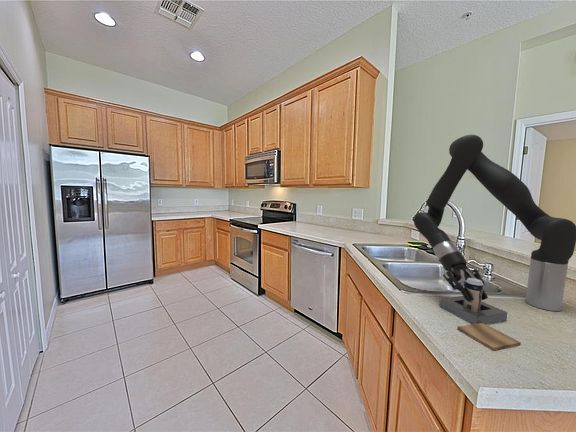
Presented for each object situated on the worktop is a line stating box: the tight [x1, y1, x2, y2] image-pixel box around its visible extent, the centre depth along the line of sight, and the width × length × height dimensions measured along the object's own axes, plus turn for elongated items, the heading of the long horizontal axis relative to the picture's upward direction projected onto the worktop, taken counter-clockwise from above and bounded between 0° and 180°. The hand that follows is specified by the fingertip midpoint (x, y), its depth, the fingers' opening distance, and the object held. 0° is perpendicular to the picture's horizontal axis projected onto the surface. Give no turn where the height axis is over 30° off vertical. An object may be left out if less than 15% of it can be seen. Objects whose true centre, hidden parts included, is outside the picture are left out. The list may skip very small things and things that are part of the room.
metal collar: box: [439, 295, 508, 325], centre depth 81 cm, size 13×13×3 cm
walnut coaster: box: [456, 323, 522, 351], centre depth 68 cm, size 10×10×1 cm
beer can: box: [463, 278, 484, 311], centre depth 80 cm, size 5×5×12 cm
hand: (478, 299), depth 79 cm, fingers open, 5 cm apart
